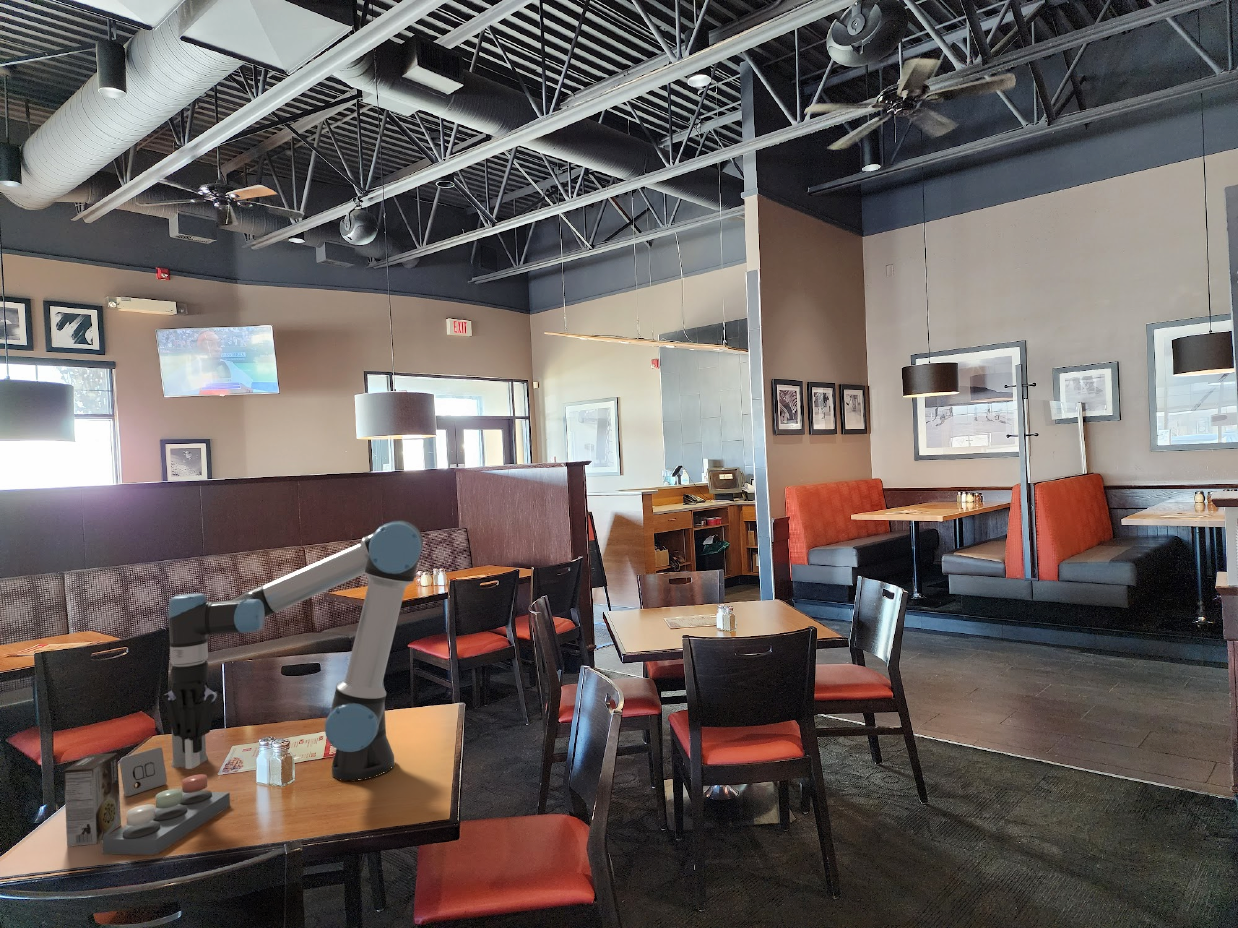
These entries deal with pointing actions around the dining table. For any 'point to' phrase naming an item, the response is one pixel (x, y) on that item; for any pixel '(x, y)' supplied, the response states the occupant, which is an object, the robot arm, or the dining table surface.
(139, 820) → the cream button
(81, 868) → the dining table surface
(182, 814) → the button panel
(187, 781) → the red button
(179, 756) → the glass holder
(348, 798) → the dining table surface
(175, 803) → the green button
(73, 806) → the cookie box
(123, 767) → the electrical switch
